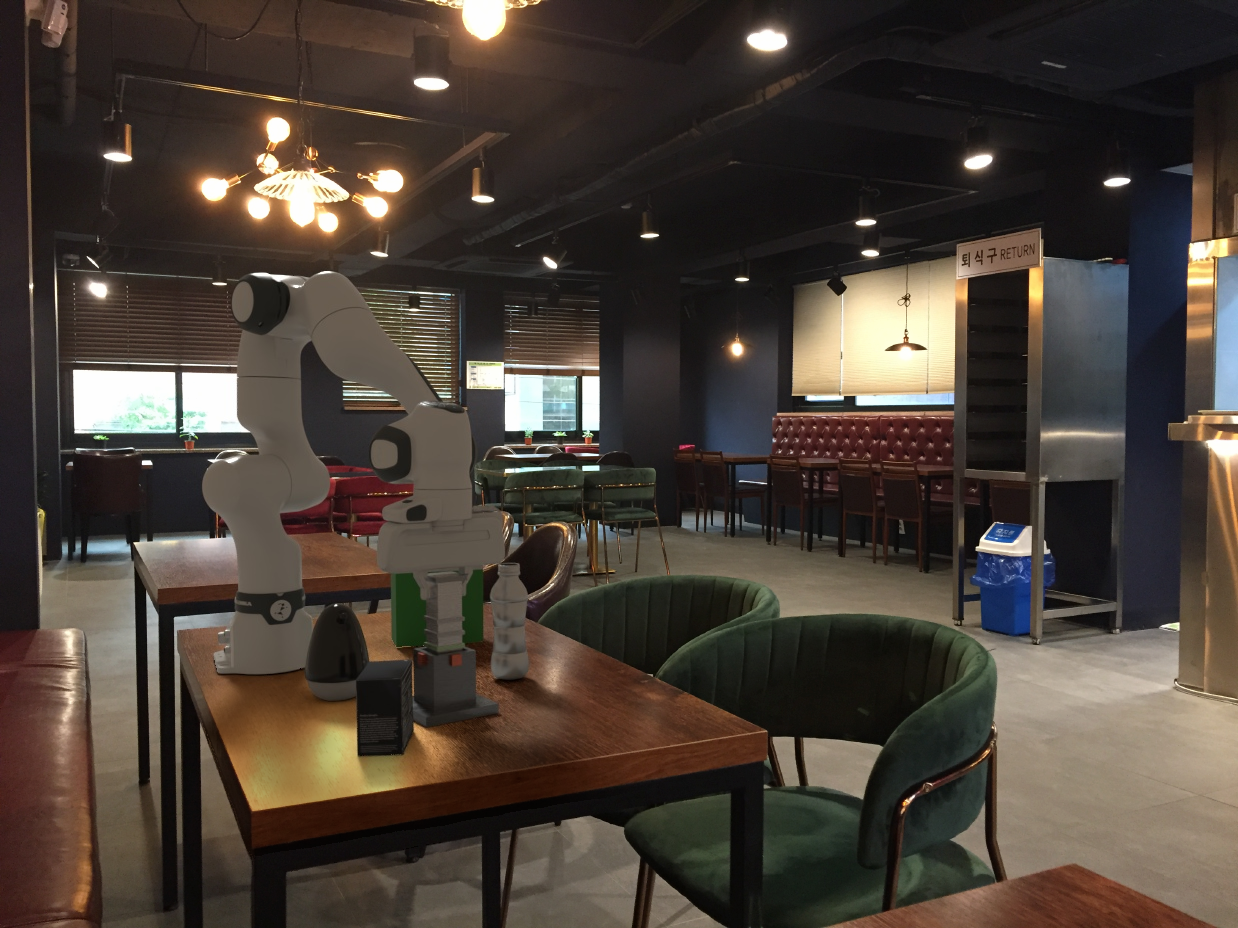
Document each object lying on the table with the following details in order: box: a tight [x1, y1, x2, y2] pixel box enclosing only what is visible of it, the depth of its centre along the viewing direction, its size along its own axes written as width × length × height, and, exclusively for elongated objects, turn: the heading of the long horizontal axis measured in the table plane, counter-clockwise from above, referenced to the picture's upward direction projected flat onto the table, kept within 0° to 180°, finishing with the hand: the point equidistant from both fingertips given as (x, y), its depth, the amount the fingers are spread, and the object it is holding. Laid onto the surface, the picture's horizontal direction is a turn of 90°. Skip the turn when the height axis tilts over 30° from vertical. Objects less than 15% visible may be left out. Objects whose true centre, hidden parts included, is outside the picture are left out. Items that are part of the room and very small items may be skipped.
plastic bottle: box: [489, 562, 530, 681], centre depth 167 cm, size 6×7×20 cm
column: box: [424, 571, 467, 655], centre depth 147 cm, size 5×5×15 cm
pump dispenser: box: [304, 602, 371, 702], centre depth 156 cm, size 10×10×15 cm
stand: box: [412, 646, 500, 728], centre depth 147 cm, size 12×12×10 cm
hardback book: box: [390, 565, 484, 648], centre depth 198 cm, size 18×7×24 cm, turn 111°
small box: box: [355, 659, 415, 757], centre depth 132 cm, size 11×6×10 cm, turn 5°
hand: (443, 597), depth 147 cm, fingers closed on column, 4 cm apart
